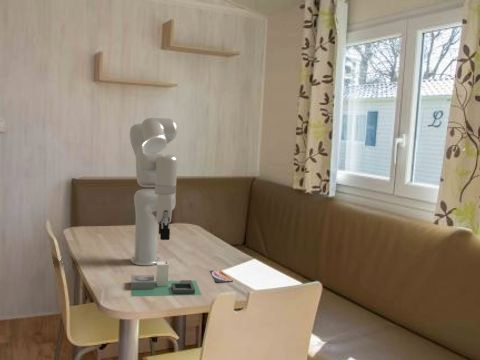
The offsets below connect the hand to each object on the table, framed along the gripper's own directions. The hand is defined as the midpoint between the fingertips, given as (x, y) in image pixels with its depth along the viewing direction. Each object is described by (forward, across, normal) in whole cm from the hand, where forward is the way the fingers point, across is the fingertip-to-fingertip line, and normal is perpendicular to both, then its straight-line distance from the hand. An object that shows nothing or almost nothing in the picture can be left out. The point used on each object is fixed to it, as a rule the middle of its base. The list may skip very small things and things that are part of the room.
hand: (163, 236), depth 182 cm
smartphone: (+19, -12, +23) cm, 32 cm away
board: (+19, +4, +1) cm, 19 cm away
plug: (+18, 0, 0) cm, 18 cm away
